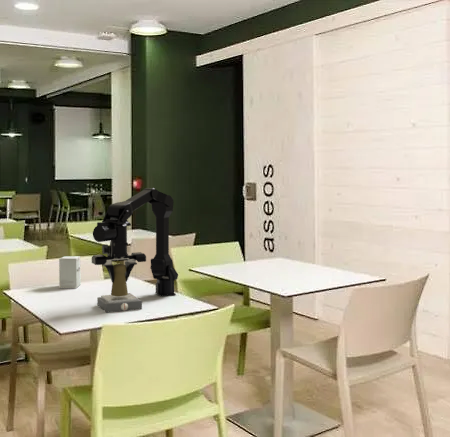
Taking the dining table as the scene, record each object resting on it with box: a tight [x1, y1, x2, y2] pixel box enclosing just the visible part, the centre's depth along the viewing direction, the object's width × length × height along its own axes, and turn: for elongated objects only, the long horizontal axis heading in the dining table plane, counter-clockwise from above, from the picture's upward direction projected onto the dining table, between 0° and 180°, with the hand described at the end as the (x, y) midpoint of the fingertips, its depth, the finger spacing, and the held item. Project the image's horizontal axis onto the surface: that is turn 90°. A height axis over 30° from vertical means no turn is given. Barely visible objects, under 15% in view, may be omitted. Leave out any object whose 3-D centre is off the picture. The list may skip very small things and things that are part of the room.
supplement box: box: [58, 255, 81, 289], centre depth 259 cm, size 7×7×13 cm
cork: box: [110, 263, 129, 296], centre depth 222 cm, size 6×6×11 cm
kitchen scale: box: [97, 292, 143, 313], centre depth 223 cm, size 13×12×4 cm
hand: (119, 282), depth 223 cm, fingers closed on cork, 4 cm apart
